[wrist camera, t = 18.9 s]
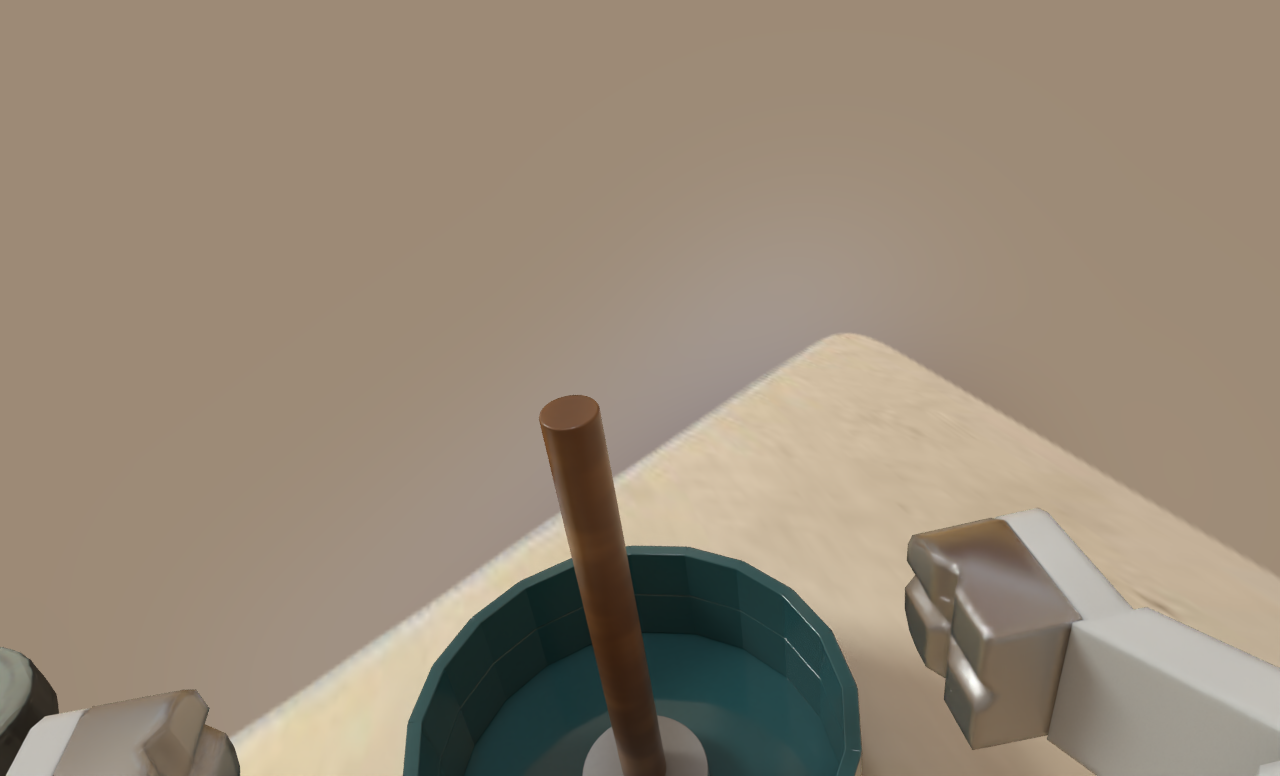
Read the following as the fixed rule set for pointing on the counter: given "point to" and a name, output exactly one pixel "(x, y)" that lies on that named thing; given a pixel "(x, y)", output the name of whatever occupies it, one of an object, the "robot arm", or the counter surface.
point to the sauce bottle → (20, 703)
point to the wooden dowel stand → (610, 602)
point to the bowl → (678, 667)
